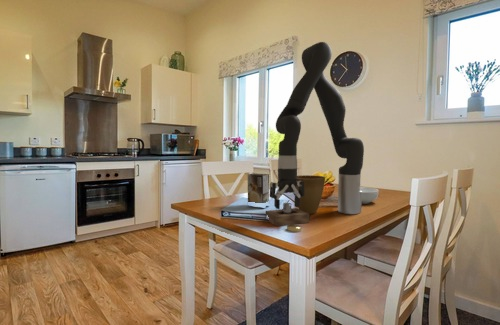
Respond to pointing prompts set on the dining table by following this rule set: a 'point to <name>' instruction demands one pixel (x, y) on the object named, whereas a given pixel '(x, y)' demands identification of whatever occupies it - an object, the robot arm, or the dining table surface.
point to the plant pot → (311, 192)
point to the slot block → (287, 217)
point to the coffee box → (258, 188)
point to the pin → (286, 208)
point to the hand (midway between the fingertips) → (287, 207)
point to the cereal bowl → (368, 194)
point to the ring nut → (294, 228)
